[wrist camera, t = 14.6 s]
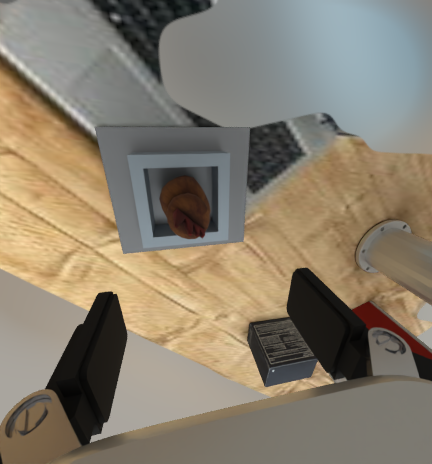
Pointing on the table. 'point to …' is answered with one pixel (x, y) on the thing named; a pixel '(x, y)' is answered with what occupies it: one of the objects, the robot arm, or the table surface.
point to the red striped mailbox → (388, 328)
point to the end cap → (167, 168)
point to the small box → (280, 351)
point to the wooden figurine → (185, 207)
